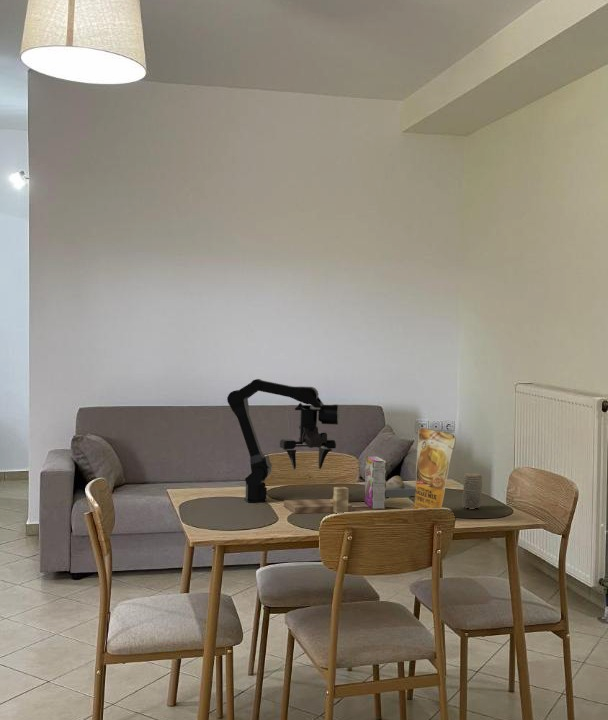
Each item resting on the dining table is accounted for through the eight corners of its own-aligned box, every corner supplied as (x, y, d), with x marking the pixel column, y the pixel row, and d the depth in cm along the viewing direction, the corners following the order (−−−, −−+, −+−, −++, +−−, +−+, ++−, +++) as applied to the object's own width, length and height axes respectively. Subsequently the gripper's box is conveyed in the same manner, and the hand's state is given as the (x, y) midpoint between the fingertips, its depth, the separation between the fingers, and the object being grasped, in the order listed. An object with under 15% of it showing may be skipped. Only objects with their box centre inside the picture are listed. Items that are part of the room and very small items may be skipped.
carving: (460, 509, 285) (461, 474, 285) (464, 505, 292) (465, 471, 292) (479, 511, 283) (480, 476, 282) (482, 507, 290) (483, 473, 289)
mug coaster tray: (381, 498, 302) (382, 489, 302) (366, 491, 315) (366, 483, 315) (419, 496, 306) (419, 488, 306) (402, 490, 320) (403, 482, 320)
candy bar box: (363, 502, 292) (364, 456, 291) (377, 502, 292) (378, 456, 292) (371, 509, 281) (372, 460, 280) (385, 509, 281) (387, 460, 281)
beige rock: (372, 494, 310) (383, 470, 313) (395, 506, 311) (405, 482, 314) (378, 493, 303) (389, 468, 306) (401, 505, 304) (412, 480, 307)
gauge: (336, 513, 271) (337, 488, 270) (326, 508, 279) (327, 484, 279) (347, 513, 272) (348, 488, 272) (338, 507, 280) (338, 483, 280)
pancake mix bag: (423, 509, 283) (426, 427, 283) (455, 521, 266) (458, 433, 265) (406, 510, 281) (408, 427, 280) (437, 522, 263) (440, 433, 263)
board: (294, 513, 270) (294, 507, 270) (283, 506, 281) (283, 500, 281) (352, 511, 276) (352, 505, 276) (339, 504, 288) (339, 498, 288)
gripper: (289, 426, 276) (288, 473, 276) (342, 425, 282) (341, 472, 282) (279, 422, 286) (278, 468, 287) (330, 422, 292) (329, 467, 293)
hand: (307, 468), depth 287 cm, fingers open, 9 cm apart
